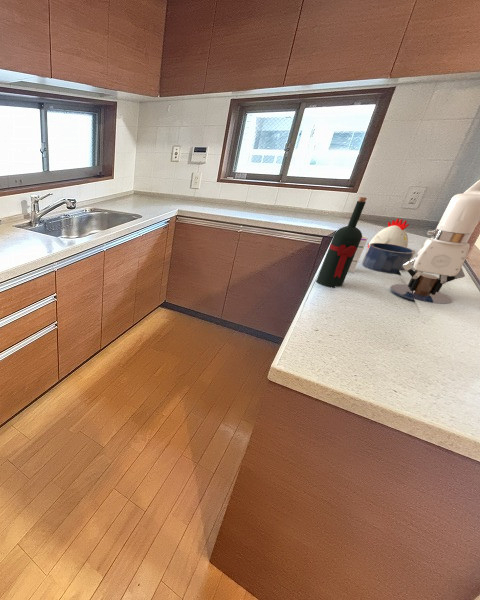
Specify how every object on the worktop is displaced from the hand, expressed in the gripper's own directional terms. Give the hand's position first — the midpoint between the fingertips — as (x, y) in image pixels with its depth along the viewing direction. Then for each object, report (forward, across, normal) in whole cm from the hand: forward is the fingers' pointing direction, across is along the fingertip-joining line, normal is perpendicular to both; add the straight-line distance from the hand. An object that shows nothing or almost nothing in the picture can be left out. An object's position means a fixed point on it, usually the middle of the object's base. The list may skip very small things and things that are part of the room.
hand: (421, 290), depth 106 cm
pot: (+3, -6, +31) cm, 32 cm away
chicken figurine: (+3, -2, +64) cm, 64 cm away
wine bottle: (+3, -24, -5) cm, 25 cm away
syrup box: (+3, -20, +16) cm, 26 cm away
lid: (+1, 0, 0) cm, 1 cm away
